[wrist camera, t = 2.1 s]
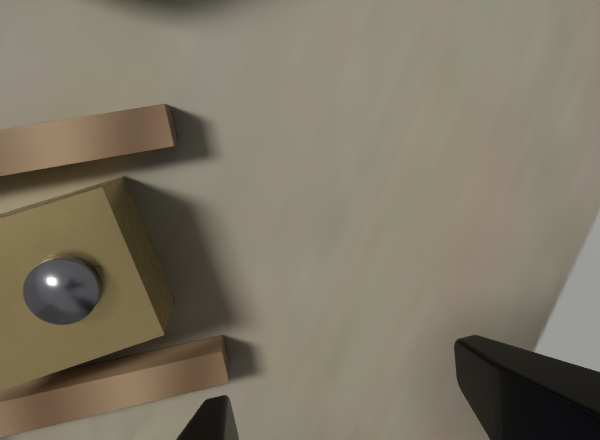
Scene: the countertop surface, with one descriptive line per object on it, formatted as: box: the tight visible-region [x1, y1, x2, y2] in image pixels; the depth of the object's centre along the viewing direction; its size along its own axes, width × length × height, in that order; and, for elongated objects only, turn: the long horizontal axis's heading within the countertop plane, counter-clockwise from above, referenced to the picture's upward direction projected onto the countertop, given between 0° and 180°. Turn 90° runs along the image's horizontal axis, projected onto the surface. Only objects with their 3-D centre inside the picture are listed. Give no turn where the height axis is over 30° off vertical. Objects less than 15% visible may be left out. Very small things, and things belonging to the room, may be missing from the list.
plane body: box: [0, 104, 229, 437], centre depth 17 cm, size 14×12×2 cm
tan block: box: [0, 176, 175, 391], centre depth 17 cm, size 8×6×4 cm
